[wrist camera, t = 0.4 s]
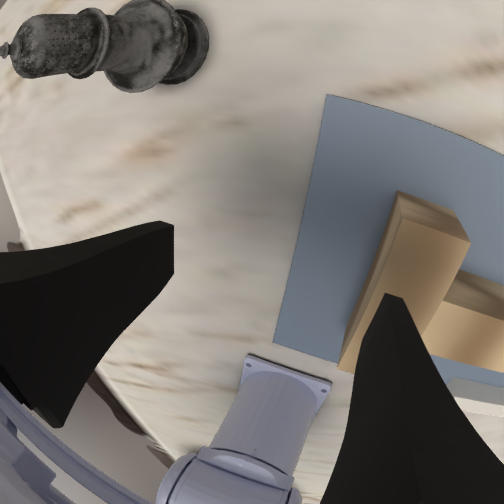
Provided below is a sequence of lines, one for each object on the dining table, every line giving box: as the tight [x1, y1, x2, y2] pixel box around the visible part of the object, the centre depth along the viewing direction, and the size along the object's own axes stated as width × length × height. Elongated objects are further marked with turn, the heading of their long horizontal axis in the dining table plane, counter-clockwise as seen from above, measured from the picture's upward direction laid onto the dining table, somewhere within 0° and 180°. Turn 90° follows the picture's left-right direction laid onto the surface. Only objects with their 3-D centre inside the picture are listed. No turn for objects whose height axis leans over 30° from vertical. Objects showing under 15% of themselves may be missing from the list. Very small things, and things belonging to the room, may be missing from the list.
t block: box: [337, 190, 504, 374], centre depth 15 cm, size 10×10×4 cm
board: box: [273, 94, 504, 388], centre depth 16 cm, size 18×24×1 cm
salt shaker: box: [0, 0, 209, 93], centre depth 11 cm, size 6×6×12 cm
